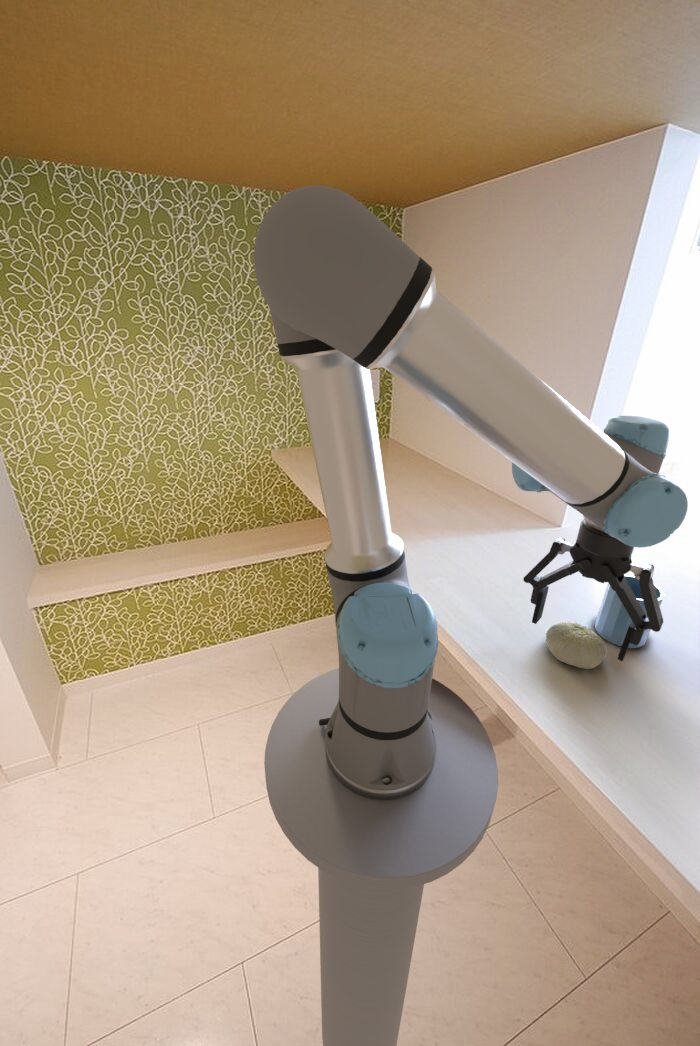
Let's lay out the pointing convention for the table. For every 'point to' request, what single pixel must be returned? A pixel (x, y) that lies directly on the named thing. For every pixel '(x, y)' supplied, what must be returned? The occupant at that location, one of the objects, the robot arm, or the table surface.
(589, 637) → the sea urchin shell
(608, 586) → the tumbler
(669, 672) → the table surface
